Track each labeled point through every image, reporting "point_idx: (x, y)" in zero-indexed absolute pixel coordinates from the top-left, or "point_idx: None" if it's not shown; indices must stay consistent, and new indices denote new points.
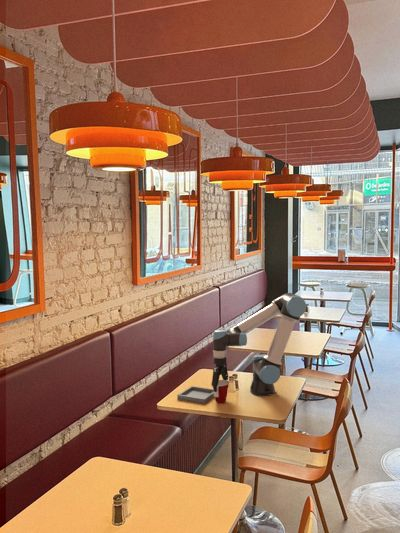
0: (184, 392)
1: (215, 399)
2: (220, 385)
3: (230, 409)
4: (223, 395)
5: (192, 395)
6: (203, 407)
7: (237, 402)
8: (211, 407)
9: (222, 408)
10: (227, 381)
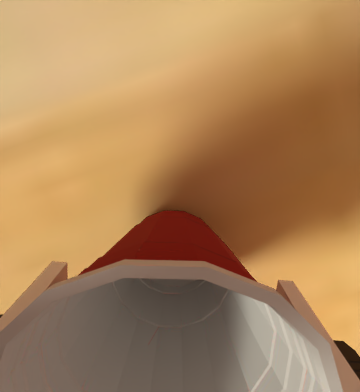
0: None
1: (200, 300)
2: (334, 369)
3: (323, 110)
4: (223, 244)
5: None
6: (331, 330)
7: (127, 105)
8: (316, 277)
9: (316, 187)
10: (28, 326)
